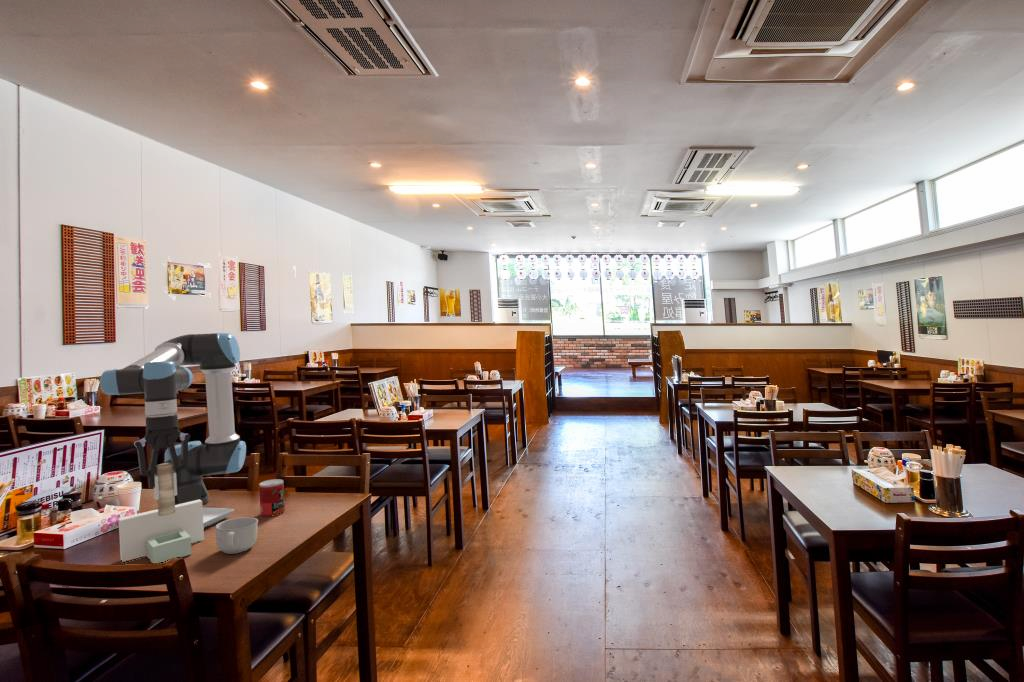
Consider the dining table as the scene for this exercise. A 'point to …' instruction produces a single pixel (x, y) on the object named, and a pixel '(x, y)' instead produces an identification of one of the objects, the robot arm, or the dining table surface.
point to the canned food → (271, 497)
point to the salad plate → (214, 515)
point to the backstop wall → (158, 527)
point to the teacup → (236, 534)
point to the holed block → (168, 546)
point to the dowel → (165, 489)
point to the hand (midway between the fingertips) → (165, 496)
